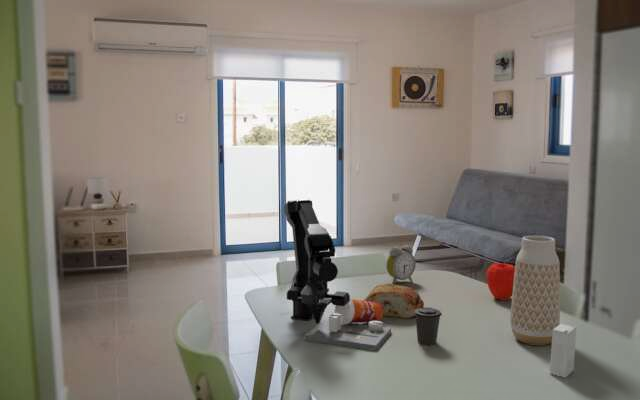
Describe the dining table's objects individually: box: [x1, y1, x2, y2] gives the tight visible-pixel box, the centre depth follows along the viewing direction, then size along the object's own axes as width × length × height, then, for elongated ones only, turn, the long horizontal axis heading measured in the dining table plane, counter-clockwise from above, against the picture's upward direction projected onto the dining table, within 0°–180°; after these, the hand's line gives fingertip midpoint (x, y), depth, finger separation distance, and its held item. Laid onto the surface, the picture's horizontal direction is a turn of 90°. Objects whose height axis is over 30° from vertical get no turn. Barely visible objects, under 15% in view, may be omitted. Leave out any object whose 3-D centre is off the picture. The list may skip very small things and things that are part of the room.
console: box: [304, 319, 392, 351], centre depth 185 cm, size 22×16×4 cm
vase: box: [510, 235, 561, 346], centre depth 181 cm, size 14×14×31 cm
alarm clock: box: [386, 244, 416, 285], centre depth 248 cm, size 12×7×15 cm, turn 123°
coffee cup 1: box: [334, 298, 384, 324], centre depth 195 cm, size 8×8×15 cm
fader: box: [328, 312, 341, 332], centre depth 185 cm, size 2×4×5 cm, turn 158°
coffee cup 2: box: [414, 307, 442, 347], centre depth 180 cm, size 8×8×10 cm
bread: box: [363, 283, 425, 319], centre depth 211 cm, size 20×18×10 cm
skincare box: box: [549, 323, 577, 379], centre depth 158 cm, size 6×4×12 cm
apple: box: [486, 262, 515, 301], centre depth 224 cm, size 12×12×13 cm
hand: (318, 323), depth 188 cm, fingers closed
